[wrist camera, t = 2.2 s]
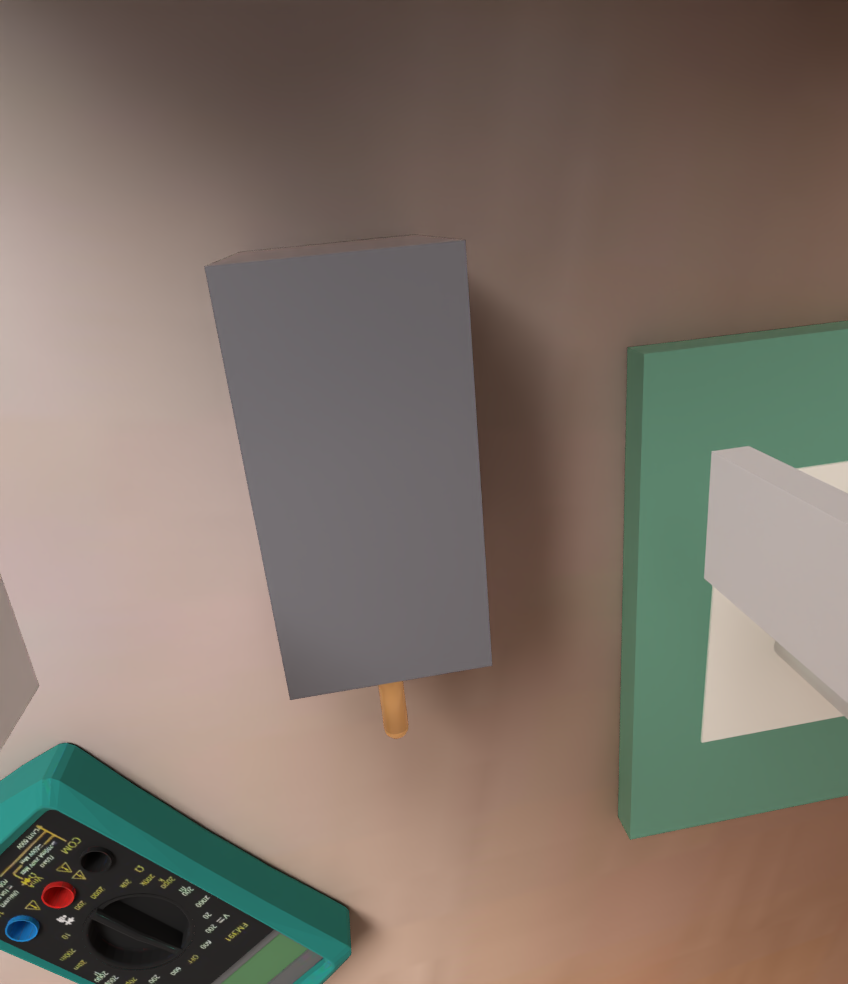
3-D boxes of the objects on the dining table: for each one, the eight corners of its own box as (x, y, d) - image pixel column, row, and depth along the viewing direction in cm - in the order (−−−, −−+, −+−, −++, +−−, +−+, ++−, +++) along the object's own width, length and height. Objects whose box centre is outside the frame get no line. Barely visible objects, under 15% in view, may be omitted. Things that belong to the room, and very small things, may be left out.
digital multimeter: (55, 719, 24) (23, 782, 22) (357, 901, 30) (361, 969, 27) (-72, 844, 26) (-118, 919, 23) (240, 998, 31) (233, 1073, 28)
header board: (627, 347, 22) (715, 381, 17) (965, 306, 23) (1133, 327, 19) (618, 816, 30) (677, 931, 25) (875, 765, 31) (978, 865, 26)
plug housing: (239, 251, 19) (204, 266, 13) (415, 234, 20) (465, 239, 14) (310, 651, 24) (310, 805, 18) (450, 628, 25) (498, 770, 19)
